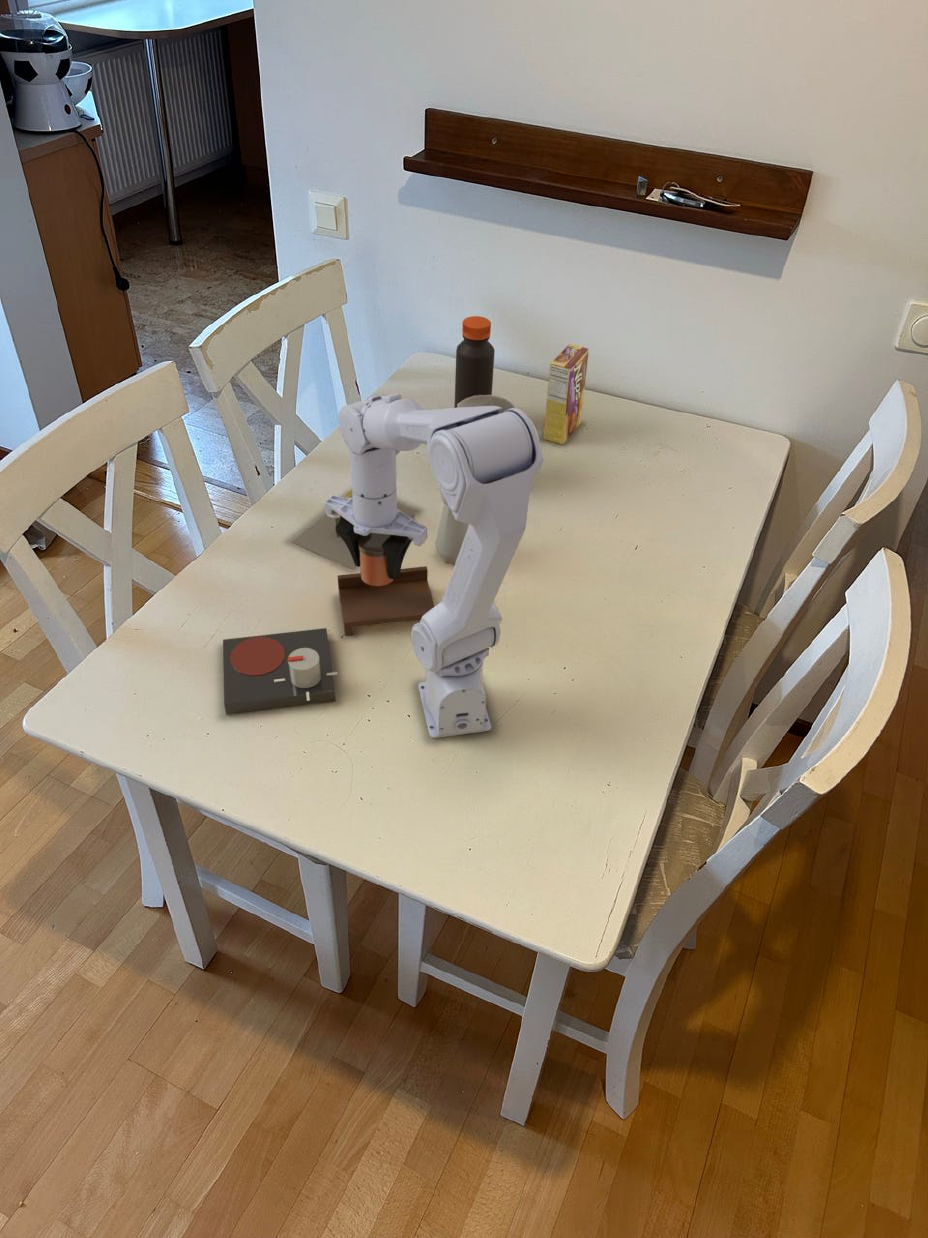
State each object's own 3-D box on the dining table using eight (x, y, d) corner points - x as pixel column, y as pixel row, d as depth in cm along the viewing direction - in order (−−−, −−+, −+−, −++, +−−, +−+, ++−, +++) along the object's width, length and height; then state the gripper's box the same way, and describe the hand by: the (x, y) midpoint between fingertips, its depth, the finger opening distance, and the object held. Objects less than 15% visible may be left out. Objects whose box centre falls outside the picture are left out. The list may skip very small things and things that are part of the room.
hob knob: (319, 664, 121) (317, 644, 119) (322, 686, 118) (320, 666, 116) (289, 668, 121) (286, 647, 118) (291, 690, 118) (288, 669, 115)
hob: (341, 707, 119) (340, 695, 117) (226, 721, 116) (224, 710, 115) (331, 637, 128) (330, 626, 127) (224, 649, 126) (222, 638, 124)
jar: (398, 584, 125) (398, 550, 121) (362, 588, 124) (360, 554, 120) (392, 561, 129) (392, 527, 125) (357, 565, 128) (355, 531, 124)
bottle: (496, 421, 172) (503, 320, 158) (477, 437, 168) (483, 334, 154) (466, 410, 175) (470, 309, 161) (446, 425, 170) (449, 323, 157)
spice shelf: (436, 625, 131) (436, 602, 128) (345, 636, 128) (343, 612, 125) (426, 589, 136) (426, 566, 133) (339, 598, 134) (337, 575, 131)
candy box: (560, 417, 174) (569, 342, 164) (581, 423, 173) (591, 348, 162) (541, 439, 168) (549, 362, 158) (562, 445, 167) (572, 368, 156)
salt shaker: (467, 571, 140) (471, 501, 131) (431, 565, 141) (432, 495, 132) (475, 547, 144) (479, 478, 135) (439, 542, 145) (441, 473, 136)
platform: (418, 511, 151) (418, 477, 146) (352, 569, 139) (350, 535, 135) (359, 487, 155) (357, 454, 150) (291, 541, 143) (287, 507, 139)
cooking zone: (286, 672, 120) (286, 671, 120) (230, 678, 119) (230, 678, 119) (283, 634, 125) (283, 634, 125) (229, 640, 124) (229, 640, 124)
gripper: (308, 485, 116) (316, 568, 125) (408, 519, 111) (409, 602, 121) (338, 459, 121) (344, 540, 130) (435, 490, 116) (434, 572, 125)
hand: (377, 568), depth 126 cm, fingers closed on jar, 5 cm apart
